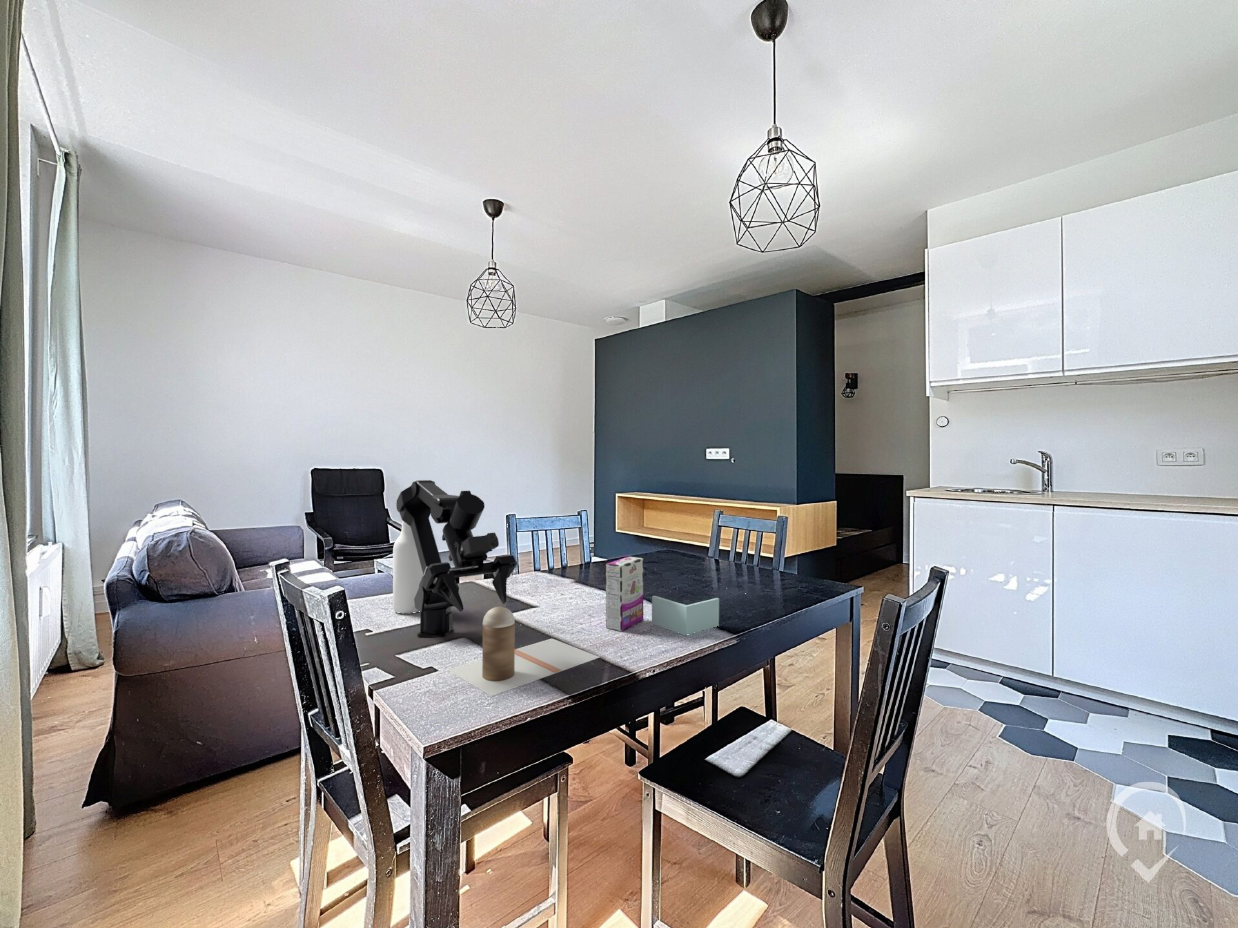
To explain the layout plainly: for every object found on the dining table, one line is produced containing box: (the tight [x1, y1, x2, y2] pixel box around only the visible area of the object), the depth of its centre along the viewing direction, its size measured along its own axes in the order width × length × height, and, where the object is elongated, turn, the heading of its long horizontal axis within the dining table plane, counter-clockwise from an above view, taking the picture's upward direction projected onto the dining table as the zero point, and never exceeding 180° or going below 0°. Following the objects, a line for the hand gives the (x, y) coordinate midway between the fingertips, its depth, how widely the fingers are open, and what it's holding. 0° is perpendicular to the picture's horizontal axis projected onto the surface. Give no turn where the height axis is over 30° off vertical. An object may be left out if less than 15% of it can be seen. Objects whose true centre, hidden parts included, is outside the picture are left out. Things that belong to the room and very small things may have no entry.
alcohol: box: [392, 519, 423, 613], centre depth 148 cm, size 9×9×30 cm
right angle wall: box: [651, 595, 720, 636], centre depth 138 cm, size 12×12×8 cm
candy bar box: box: [605, 556, 644, 632], centre depth 137 cm, size 11×5×16 cm, turn 148°
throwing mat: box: [446, 638, 601, 697], centre depth 109 cm, size 26×16×1 cm, turn 135°
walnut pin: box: [481, 606, 516, 681], centre depth 103 cm, size 6×6×13 cm
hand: (484, 606), depth 108 cm, fingers open, 9 cm apart
